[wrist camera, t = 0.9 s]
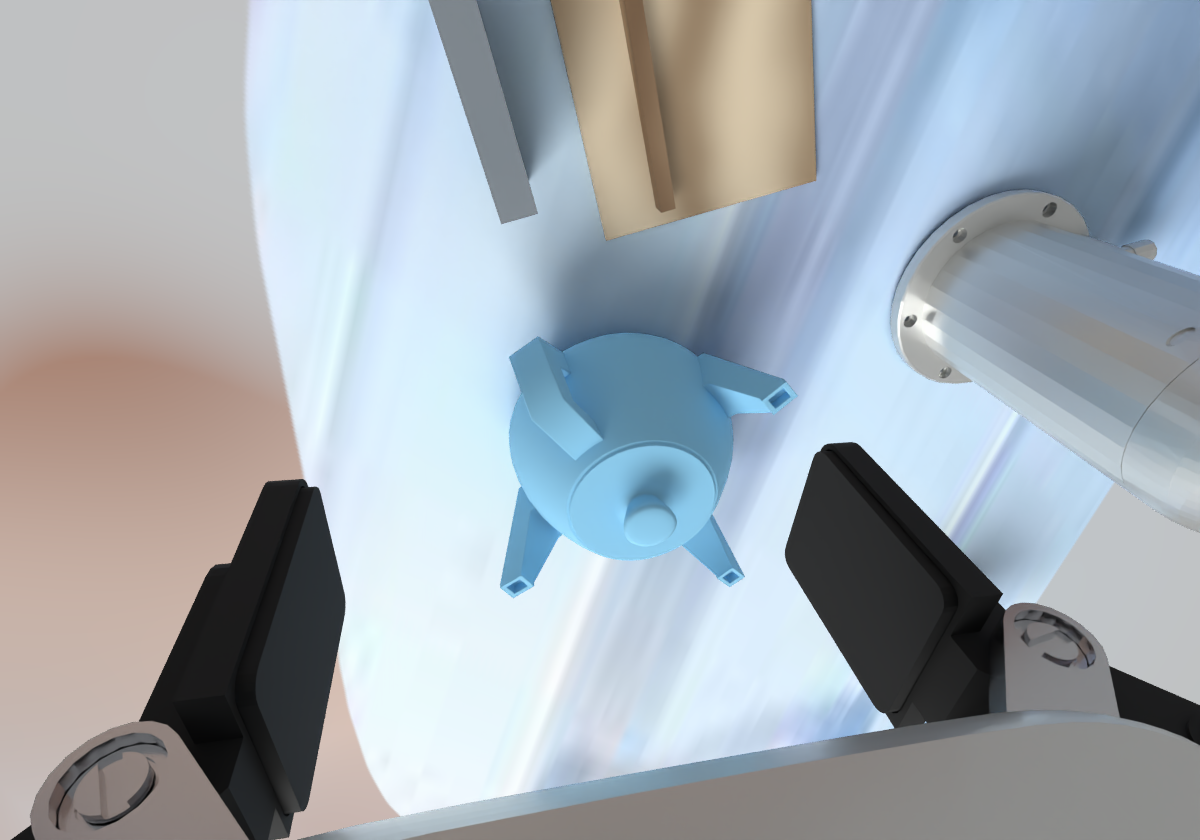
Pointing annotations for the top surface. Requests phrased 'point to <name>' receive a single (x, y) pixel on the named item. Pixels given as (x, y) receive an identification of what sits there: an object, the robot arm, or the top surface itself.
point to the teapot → (626, 450)
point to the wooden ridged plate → (689, 103)
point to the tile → (484, 106)
